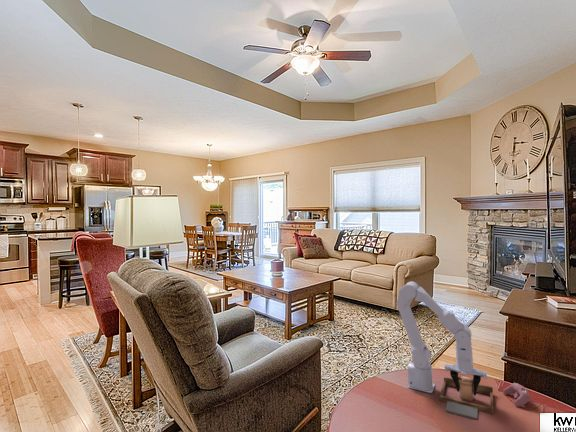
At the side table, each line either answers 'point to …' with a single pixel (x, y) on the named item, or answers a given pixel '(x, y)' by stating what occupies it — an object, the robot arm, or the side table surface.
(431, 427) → the side table surface
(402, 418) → the side table surface
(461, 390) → the beige peg
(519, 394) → the video game controller
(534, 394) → the side table surface
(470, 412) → the rubber mat
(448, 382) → the frame
